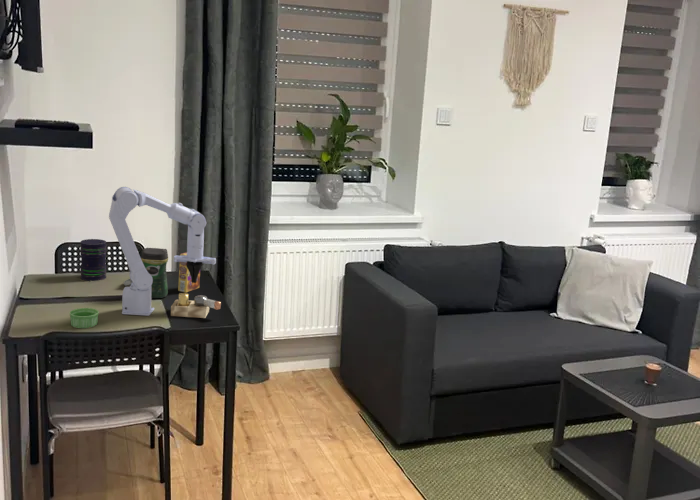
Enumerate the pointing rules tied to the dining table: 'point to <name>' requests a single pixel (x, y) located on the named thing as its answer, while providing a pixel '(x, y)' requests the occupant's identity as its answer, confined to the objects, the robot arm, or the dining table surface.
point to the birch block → (189, 310)
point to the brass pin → (183, 299)
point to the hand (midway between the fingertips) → (194, 282)
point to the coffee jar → (156, 270)
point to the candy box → (186, 278)
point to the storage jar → (93, 259)
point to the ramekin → (84, 317)
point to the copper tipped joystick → (206, 302)
